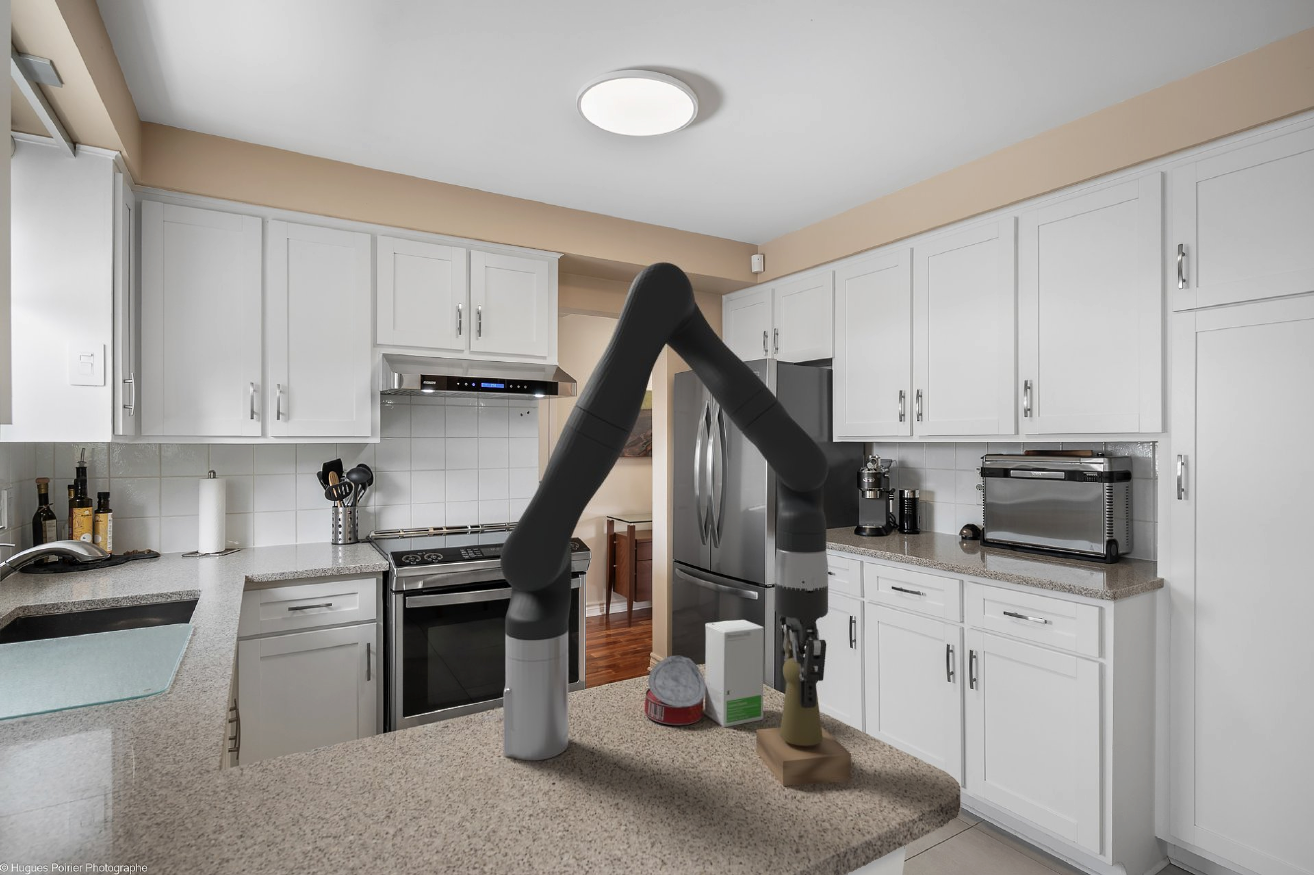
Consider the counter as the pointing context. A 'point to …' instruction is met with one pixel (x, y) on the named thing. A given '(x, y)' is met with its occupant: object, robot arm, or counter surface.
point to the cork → (798, 712)
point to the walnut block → (803, 759)
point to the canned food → (675, 692)
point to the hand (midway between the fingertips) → (800, 698)
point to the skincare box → (734, 672)
